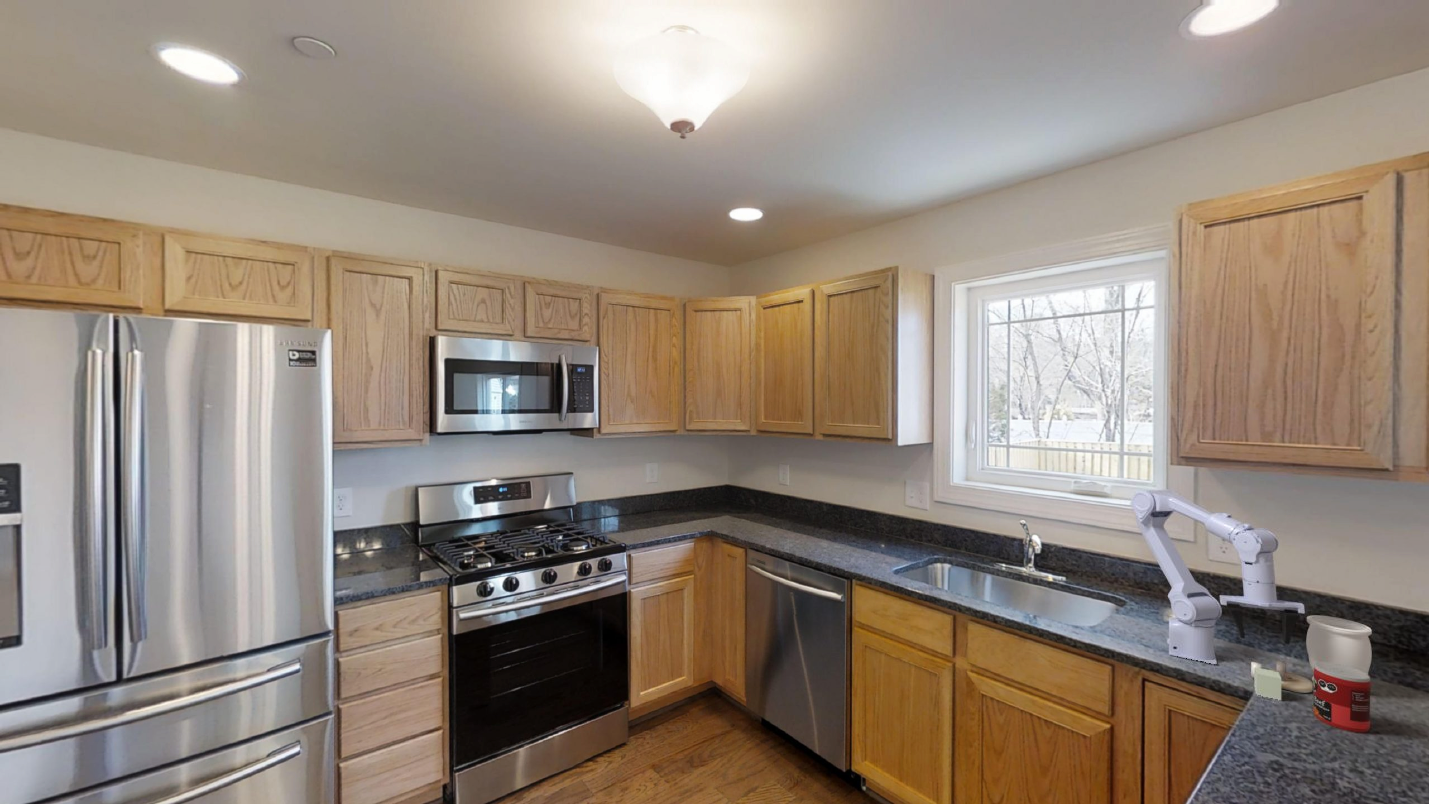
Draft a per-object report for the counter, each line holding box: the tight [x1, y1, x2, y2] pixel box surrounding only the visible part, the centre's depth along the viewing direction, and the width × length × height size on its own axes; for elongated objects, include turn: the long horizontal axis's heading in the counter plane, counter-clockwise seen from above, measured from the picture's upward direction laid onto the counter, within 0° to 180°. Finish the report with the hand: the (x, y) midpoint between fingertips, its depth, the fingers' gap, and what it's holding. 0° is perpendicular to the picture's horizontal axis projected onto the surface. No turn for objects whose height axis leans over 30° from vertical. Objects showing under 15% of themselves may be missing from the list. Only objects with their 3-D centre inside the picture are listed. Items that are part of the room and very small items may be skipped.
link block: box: [1253, 667, 1282, 701], centre depth 132 cm, size 4×4×5 cm
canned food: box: [1312, 662, 1371, 734], centre depth 120 cm, size 8×8×11 cm
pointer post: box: [1250, 661, 1263, 677], centre depth 139 cm, size 2×2×4 cm
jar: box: [1305, 615, 1373, 682], centre depth 136 cm, size 11×10×15 cm
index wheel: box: [1269, 661, 1314, 694], centre depth 136 cm, size 8×8×6 cm
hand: (1263, 639), depth 136 cm, fingers open, 7 cm apart
